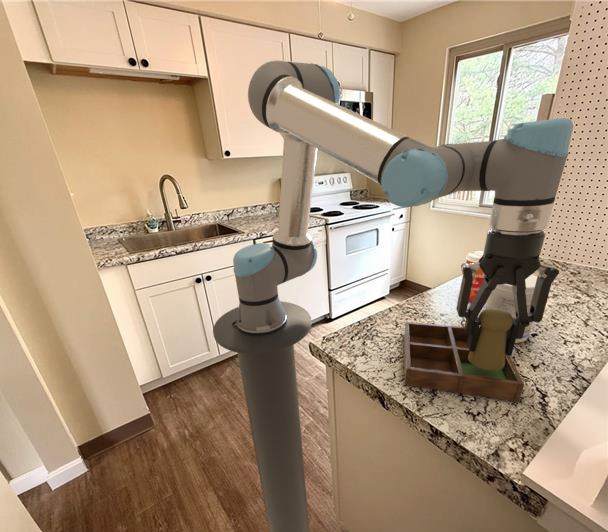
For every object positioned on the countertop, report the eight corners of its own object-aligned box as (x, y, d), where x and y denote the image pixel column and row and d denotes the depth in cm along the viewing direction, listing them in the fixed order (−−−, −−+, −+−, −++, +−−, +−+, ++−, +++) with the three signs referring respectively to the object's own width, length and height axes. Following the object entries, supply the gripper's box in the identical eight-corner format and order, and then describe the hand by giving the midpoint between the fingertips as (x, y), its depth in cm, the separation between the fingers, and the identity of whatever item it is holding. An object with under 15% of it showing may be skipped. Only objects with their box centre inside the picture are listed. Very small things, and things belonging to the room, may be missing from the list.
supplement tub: (479, 321, 82) (490, 269, 76) (523, 327, 78) (539, 272, 72) (482, 341, 74) (495, 285, 68) (532, 348, 70) (550, 288, 64)
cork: (498, 353, 62) (510, 304, 58) (509, 372, 57) (523, 320, 53) (464, 350, 64) (473, 303, 60) (472, 368, 59) (482, 318, 54)
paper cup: (453, 296, 96) (460, 253, 90) (472, 291, 98) (480, 248, 92) (475, 306, 89) (484, 260, 84) (495, 300, 91) (505, 255, 86)
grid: (404, 384, 64) (406, 368, 62) (404, 335, 80) (405, 321, 78) (519, 402, 57) (524, 384, 55) (493, 344, 73) (496, 329, 71)
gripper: (454, 236, 50) (437, 354, 60) (603, 234, 43) (556, 368, 53) (448, 225, 56) (433, 334, 66) (577, 222, 50) (539, 344, 59)
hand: (488, 349), depth 60 cm, fingers closed on cork, 5 cm apart
